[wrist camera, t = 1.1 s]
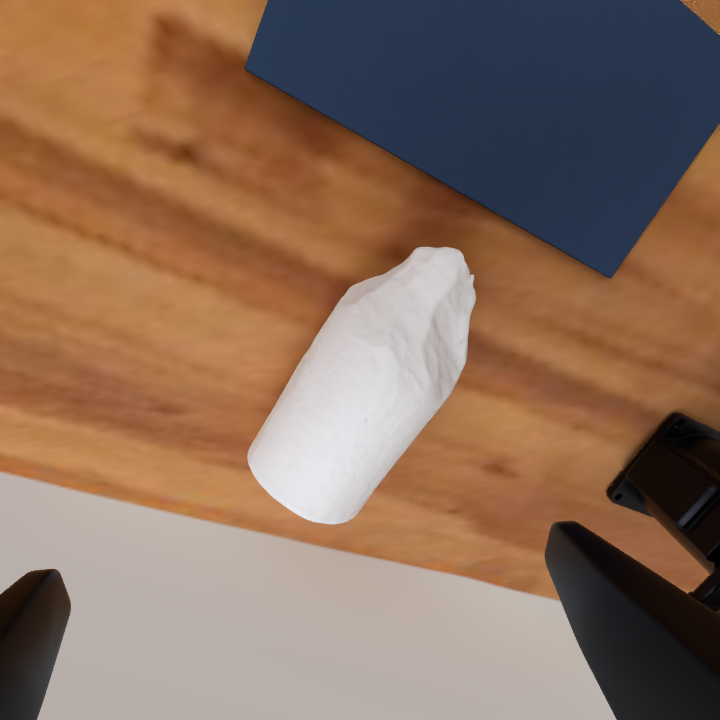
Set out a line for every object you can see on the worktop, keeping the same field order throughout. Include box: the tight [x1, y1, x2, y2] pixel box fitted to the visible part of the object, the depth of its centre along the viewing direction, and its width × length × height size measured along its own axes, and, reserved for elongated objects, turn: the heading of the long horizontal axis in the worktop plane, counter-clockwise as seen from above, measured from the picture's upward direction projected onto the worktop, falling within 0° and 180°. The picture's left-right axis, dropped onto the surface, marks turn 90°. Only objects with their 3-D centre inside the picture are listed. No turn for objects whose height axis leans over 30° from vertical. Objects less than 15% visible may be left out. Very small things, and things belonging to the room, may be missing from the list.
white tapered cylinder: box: [248, 247, 476, 524], centre depth 19 cm, size 6×12×6 cm, turn 148°
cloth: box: [245, 0, 720, 278], centre depth 17 cm, size 18×10×1 cm, turn 63°
